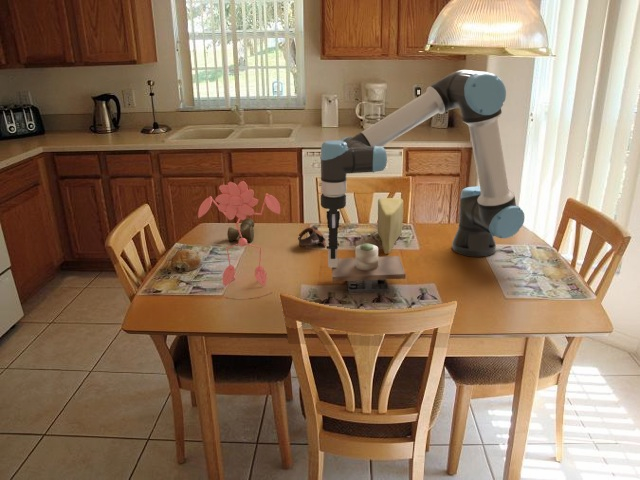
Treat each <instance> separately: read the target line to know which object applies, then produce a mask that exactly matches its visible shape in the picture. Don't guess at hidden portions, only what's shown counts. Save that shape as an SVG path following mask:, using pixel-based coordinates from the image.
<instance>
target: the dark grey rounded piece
mask: <svg viewBox="0 0 640 480" xmlns="http://www.w3.org/2000/svg"><path fill="white" fill-rule="evenodd" d="M254 227H255V222H254V220H253V219H252V218H249V217H248V218H247V217H246V219H245V220H241V223H240V227H239V229H240V232H241V235H242V238H245V239H246V240H247V242H250V243H252V242H254V239H255V232H254ZM226 236H227V239H228V241H229V242H233V241H235V240H236V241H239V240H240V239H241V236H240V234H239V231H238V229H237V228H234V227H232V226H231V227H228V229H227V235H226Z"/></svg>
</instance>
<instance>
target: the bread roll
mask: <svg viewBox="0 0 640 480" xmlns="http://www.w3.org/2000/svg"><path fill="white" fill-rule="evenodd" d="M170 261H171V262H170V266H171V269H172V270H173V271H176V272H179V273H181V272H182V273H185V272H190V271H191V272H192V271H195V270H196V269H198V268H200V267H201V265H202V260H201V257H200V255H199V254H198V252H196V251H195V250H192V249H189V248H183V249H181V250H179V251H178V252H176V253H175V254H174V255H173V257H172V258H171V260H170Z"/></svg>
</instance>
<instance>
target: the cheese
mask: <svg viewBox="0 0 640 480" xmlns="http://www.w3.org/2000/svg"><path fill="white" fill-rule="evenodd" d="M403 219H404V200H403V199H402V198H398V197H397V198H396V197H392V198H391V197H380V198H378V200H377V224H376V225H377V228H376V229H377V234H378V237H379V239H380V240H381V244H382V245H381V246H382V250H383V253H384V254H385V255H390V253H391V251H392V250H393V247H394V246H395V243H396V242H397V240H398V238H399V237H400V236H401V234H402V231H403Z"/></svg>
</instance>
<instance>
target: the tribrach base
mask: <svg viewBox="0 0 640 480" xmlns="http://www.w3.org/2000/svg"><path fill="white" fill-rule="evenodd" d="M347 289H348V290H349V291H348V294H349V293H366V294H389V287H388V282H387V279H383V280H357V281H347Z"/></svg>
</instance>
